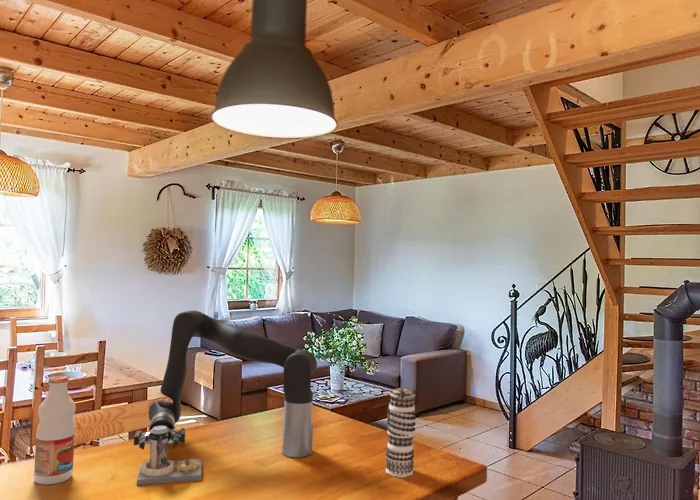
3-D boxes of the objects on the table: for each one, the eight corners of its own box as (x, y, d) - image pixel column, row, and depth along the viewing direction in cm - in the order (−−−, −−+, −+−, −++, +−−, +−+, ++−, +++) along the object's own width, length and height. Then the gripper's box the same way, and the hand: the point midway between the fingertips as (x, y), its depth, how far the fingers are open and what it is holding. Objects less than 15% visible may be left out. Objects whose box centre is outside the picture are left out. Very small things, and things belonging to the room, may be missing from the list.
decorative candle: (394, 479, 153) (398, 394, 154) (378, 468, 161) (382, 387, 162) (420, 475, 157) (423, 392, 158) (403, 464, 166) (406, 385, 166)
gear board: (200, 464, 159) (201, 451, 159) (201, 480, 147) (201, 467, 148) (141, 468, 154) (141, 455, 154) (136, 485, 143) (137, 471, 143)
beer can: (160, 473, 147) (162, 431, 147) (145, 471, 148) (147, 429, 148) (169, 467, 152) (171, 425, 152) (155, 465, 153) (157, 424, 153)
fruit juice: (40, 472, 148) (46, 373, 149) (76, 470, 150) (81, 373, 151) (28, 486, 139) (33, 381, 140) (66, 484, 141) (72, 381, 142)
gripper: (138, 416, 162) (132, 433, 146) (186, 414, 166) (185, 430, 151) (137, 440, 162) (131, 460, 146) (185, 437, 166) (184, 456, 150)
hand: (158, 445), depth 148 cm, fingers open, 8 cm apart
